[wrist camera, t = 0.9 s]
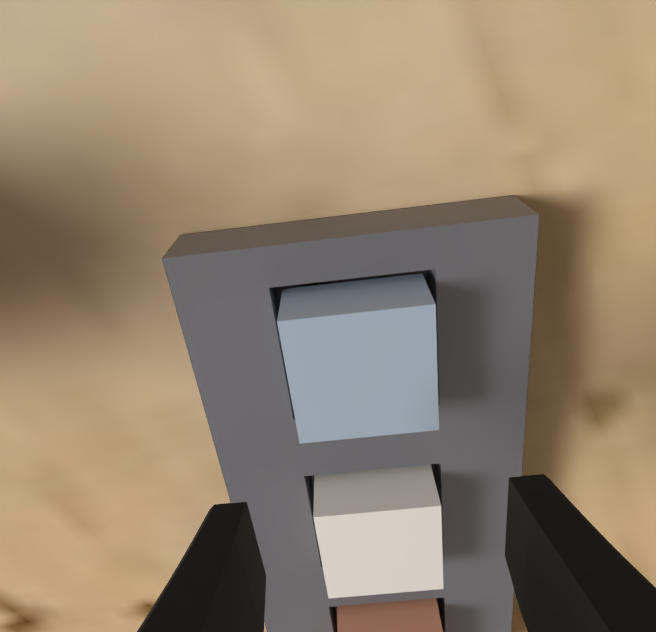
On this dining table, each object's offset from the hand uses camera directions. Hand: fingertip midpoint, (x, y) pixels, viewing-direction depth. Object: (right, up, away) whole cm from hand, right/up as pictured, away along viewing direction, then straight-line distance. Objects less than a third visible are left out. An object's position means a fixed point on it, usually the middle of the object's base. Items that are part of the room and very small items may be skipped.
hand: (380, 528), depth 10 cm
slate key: (0, +3, +6) cm, 7 cm away
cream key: (+1, -3, +9) cm, 10 cm away
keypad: (+1, -2, +11) cm, 11 cm away
